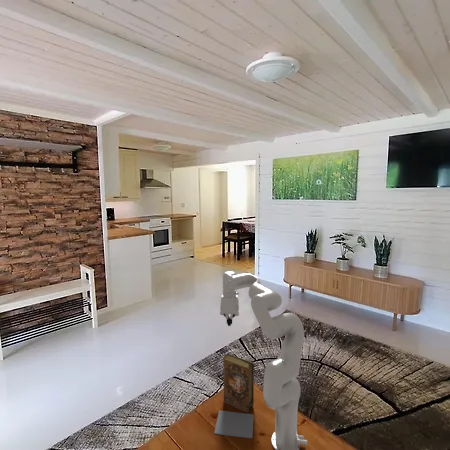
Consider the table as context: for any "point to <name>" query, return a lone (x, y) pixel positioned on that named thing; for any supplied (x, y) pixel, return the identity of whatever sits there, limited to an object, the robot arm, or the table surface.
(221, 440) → the table surface
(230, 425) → the mat
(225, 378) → the book
